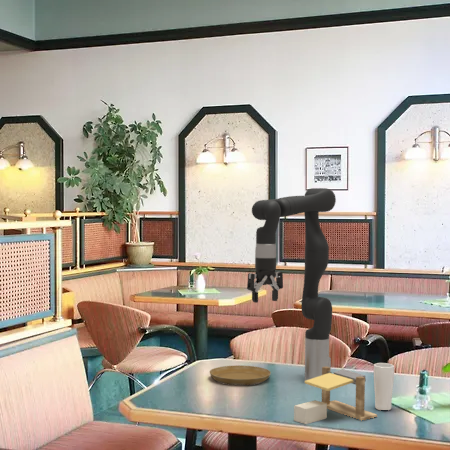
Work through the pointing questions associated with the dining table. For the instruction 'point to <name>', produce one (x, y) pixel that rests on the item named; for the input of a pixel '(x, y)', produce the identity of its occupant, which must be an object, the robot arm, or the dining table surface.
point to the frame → (344, 408)
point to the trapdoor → (334, 380)
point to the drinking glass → (383, 385)
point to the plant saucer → (240, 375)
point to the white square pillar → (310, 412)
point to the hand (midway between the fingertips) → (265, 301)
